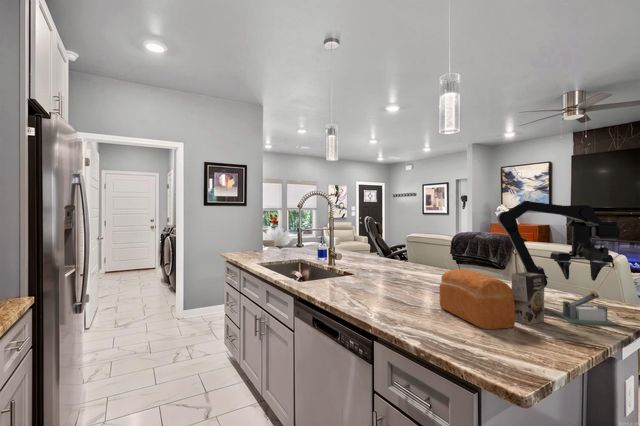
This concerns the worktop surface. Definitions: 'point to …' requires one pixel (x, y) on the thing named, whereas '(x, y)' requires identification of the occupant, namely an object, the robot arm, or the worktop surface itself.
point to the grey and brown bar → (584, 299)
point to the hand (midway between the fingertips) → (580, 280)
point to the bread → (478, 299)
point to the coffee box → (528, 297)
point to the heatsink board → (573, 315)
